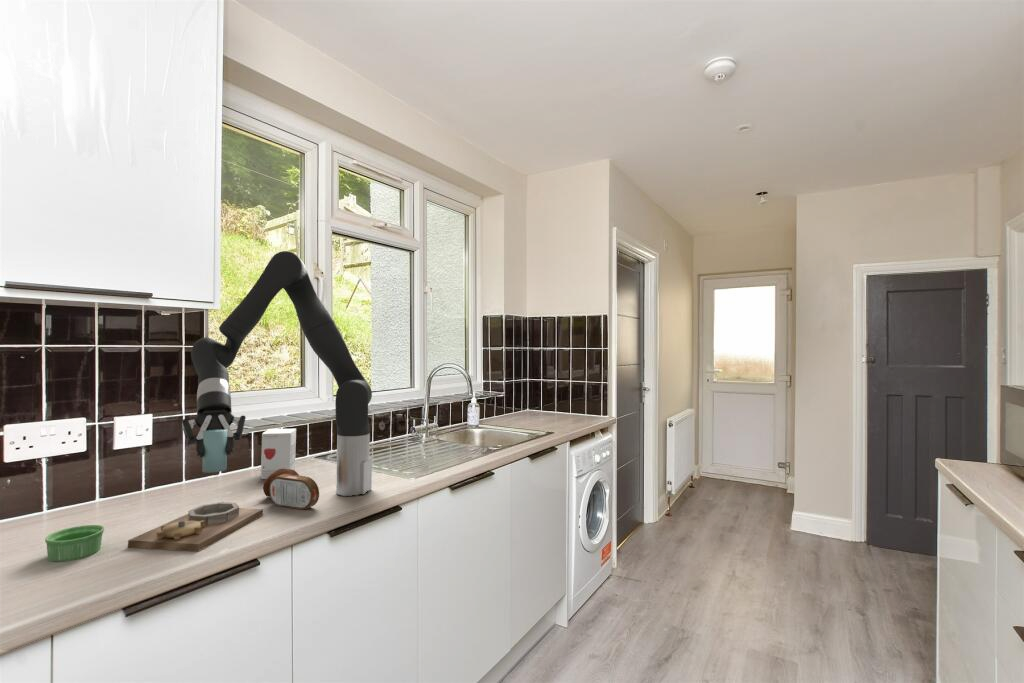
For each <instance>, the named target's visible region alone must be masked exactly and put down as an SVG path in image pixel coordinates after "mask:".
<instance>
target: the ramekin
mask: <svg viewBox="0 0 1024 683" xmlns="http://www.w3.org/2000/svg"><path fill="white" fill-rule="evenodd" d="M104 532H105V527H104V526H103V525H99V524H87V525H85V524H84V525H77V526H72V527H69V528H67V527H66V528H63V529H59V530H57V531H54V532H52V533H49V534H48V535H46V537H45V538H44V542H45V544H46V550H47V551H46V552H47V558H48V559H47V560H49V561H50V562H54V563H55V562H56V563H57V562H58V563H61V562H69V561H75V560H80V559H83V558H86V557H89V556H91V555H93V554H96V553H98V552H99V550H101V546H102V541H103V540H102V539H103V534H104Z"/></svg>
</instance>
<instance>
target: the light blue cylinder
mask: <svg viewBox="0 0 1024 683" xmlns="http://www.w3.org/2000/svg"><path fill="white" fill-rule="evenodd" d="M227 457H228V455H227V429H212V430H206V431H203V457H202V465H201V466H202V470H201V471H202V473H220V472H223V471H226V470H227V468H228V466H227V464H228V461H227V460H228V459H227Z"/></svg>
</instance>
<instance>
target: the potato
mask: <svg viewBox="0 0 1024 683" xmlns="http://www.w3.org/2000/svg"><path fill="white" fill-rule="evenodd" d="M281 474H292V475H299V473H298V472H297V471H296V469H295V470H291V469H285V468H284V469H278V470H277V471H275V472H274V473H272V474H271V475H270V476H269V477H268V478H267V479H265V480H264V482H263V486H262V491H263V493H264V495H265V496H266V497H268V498H270V493H269V484H270V482H271V481H272V479H274V478H275V477H277V476H280V475H281ZM299 476H300V475H299Z"/></svg>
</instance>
